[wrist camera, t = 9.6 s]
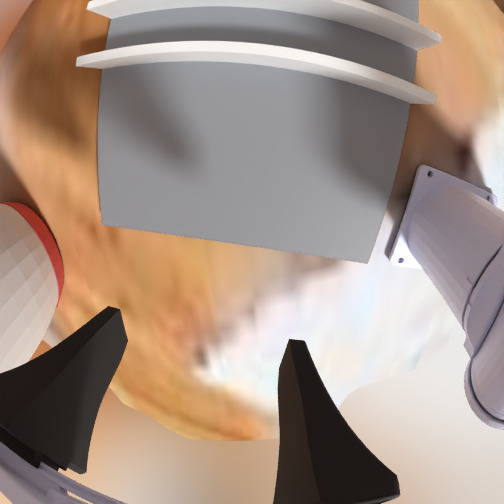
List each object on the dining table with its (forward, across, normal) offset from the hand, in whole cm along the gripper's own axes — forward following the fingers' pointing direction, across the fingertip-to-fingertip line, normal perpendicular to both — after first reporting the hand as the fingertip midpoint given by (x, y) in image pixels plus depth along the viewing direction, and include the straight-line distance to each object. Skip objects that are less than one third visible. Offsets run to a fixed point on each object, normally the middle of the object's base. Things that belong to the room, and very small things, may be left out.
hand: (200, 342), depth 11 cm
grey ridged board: (+10, 0, -13) cm, 16 cm away
